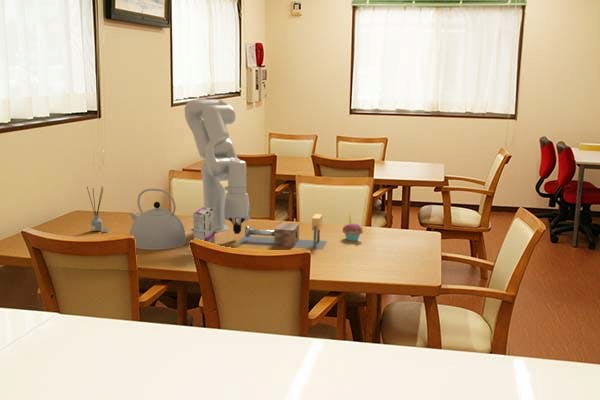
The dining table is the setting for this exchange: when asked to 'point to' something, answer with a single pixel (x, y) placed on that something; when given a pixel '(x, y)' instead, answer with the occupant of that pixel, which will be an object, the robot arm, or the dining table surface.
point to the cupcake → (352, 231)
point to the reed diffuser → (97, 217)
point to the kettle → (157, 227)
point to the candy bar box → (204, 224)
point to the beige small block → (317, 221)
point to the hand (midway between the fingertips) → (237, 233)
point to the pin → (258, 232)
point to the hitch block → (290, 235)
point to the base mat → (270, 242)
